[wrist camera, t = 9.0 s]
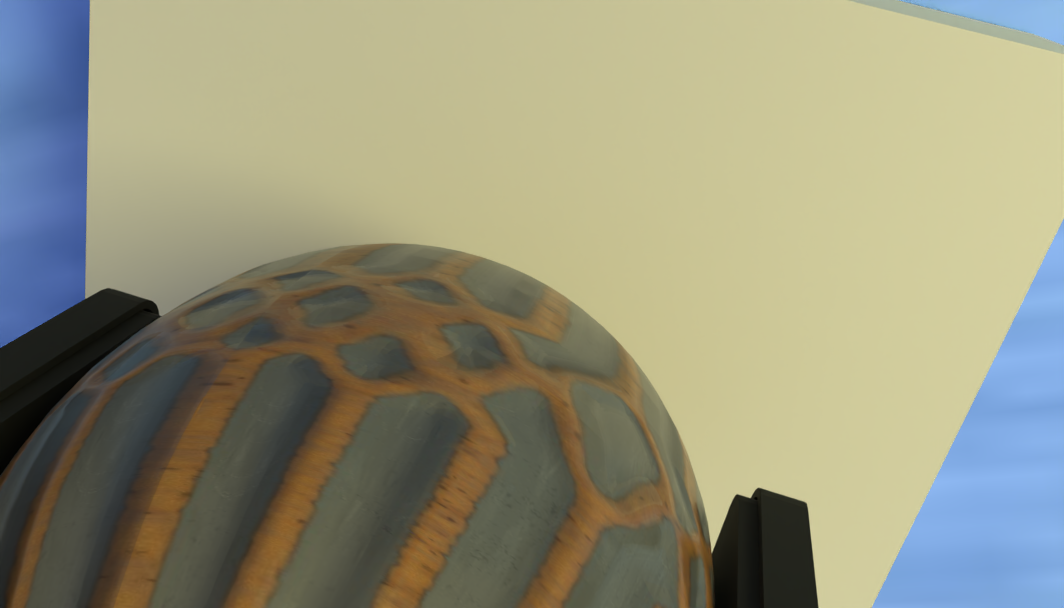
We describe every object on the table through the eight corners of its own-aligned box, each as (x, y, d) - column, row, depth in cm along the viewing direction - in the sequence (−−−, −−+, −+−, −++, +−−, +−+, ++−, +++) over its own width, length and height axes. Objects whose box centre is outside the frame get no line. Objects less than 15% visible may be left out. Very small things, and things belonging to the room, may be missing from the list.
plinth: (246, -161, 15) (92, -189, 12) (1033, 33, 14) (1136, 72, 10) (195, 470, 21) (80, 585, 17) (761, 653, 19) (766, 821, 16)
